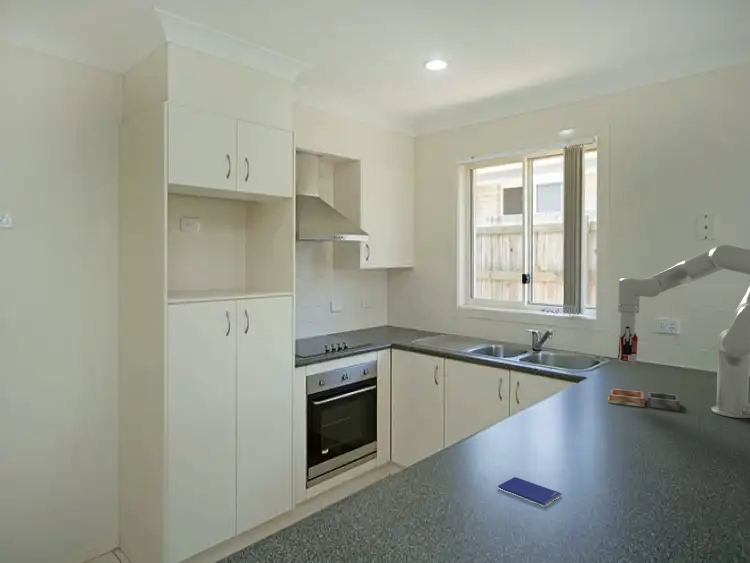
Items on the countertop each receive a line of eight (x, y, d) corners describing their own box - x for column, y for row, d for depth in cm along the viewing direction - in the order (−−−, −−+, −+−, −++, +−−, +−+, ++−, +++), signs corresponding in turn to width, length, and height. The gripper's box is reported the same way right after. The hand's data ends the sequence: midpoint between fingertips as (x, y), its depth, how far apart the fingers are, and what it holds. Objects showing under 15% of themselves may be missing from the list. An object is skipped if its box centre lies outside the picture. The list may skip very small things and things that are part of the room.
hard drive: (562, 492, 120) (515, 476, 130) (544, 503, 115) (497, 485, 124) (561, 498, 120) (515, 482, 130) (544, 510, 115) (497, 491, 124)
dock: (677, 402, 202) (678, 394, 202) (679, 411, 191) (679, 402, 191) (609, 395, 214) (610, 386, 214) (607, 402, 203) (607, 393, 203)
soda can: (639, 364, 201) (641, 334, 201) (622, 363, 202) (624, 333, 201) (631, 360, 208) (633, 331, 207) (614, 359, 208) (616, 330, 208)
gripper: (619, 306, 213) (618, 349, 214) (617, 310, 198) (616, 355, 199) (639, 307, 210) (638, 350, 210) (638, 311, 194) (637, 357, 195)
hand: (627, 352), depth 205 cm, fingers closed on soda can, 6 cm apart
